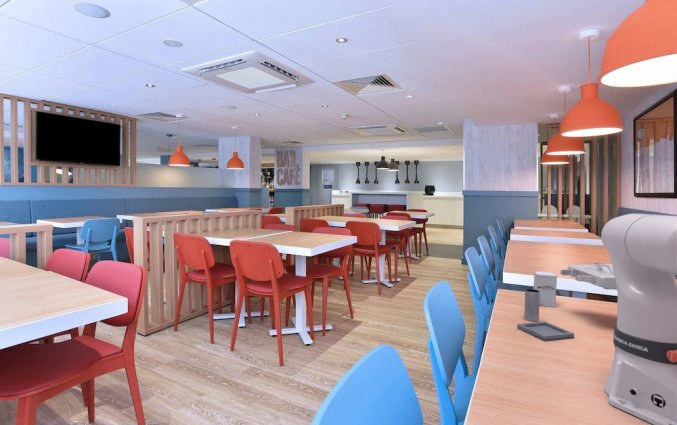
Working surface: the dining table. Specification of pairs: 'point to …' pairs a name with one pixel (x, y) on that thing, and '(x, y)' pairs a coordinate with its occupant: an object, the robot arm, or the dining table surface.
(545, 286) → the supplement box
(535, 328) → the tray
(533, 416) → the dining table surface
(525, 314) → the grey cylindrical container
